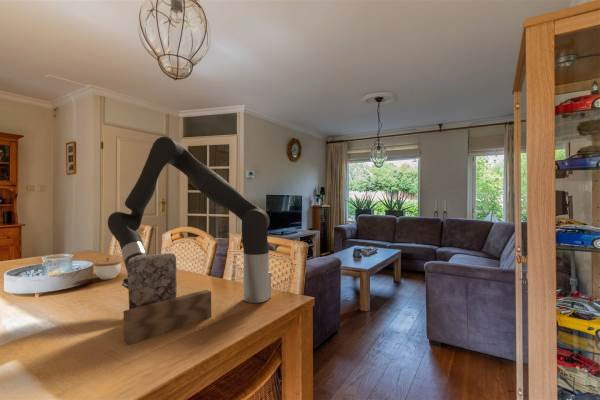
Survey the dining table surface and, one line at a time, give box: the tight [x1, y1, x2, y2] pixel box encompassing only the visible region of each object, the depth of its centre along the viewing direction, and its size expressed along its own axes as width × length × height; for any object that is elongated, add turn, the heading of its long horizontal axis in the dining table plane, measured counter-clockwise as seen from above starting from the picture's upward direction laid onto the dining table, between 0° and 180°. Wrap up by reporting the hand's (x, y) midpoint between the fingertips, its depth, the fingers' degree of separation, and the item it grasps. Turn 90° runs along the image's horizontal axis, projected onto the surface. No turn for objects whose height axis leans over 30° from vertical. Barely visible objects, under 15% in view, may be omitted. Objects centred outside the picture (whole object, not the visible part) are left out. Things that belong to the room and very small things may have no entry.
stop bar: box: [122, 289, 212, 346], centre depth 86 cm, size 24×3×8 cm, turn 138°
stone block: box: [127, 252, 178, 310], centre depth 92 cm, size 13×7×20 cm, turn 114°
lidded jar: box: [94, 257, 122, 280], centre depth 141 cm, size 11×11×9 cm
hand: (151, 301), depth 95 cm, fingers closed
